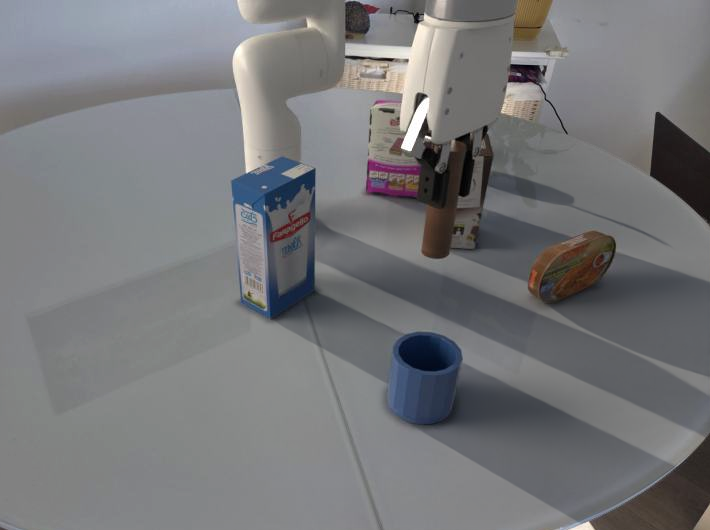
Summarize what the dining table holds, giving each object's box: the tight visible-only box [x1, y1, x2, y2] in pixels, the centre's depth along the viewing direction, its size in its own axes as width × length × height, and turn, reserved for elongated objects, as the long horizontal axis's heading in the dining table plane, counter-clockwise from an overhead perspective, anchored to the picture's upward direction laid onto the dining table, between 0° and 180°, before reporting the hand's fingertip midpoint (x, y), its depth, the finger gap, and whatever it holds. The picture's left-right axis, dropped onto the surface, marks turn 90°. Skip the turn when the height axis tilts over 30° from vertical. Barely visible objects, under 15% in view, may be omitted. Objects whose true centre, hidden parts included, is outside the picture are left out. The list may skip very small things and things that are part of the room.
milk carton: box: [230, 157, 317, 320], centre depth 91 cm, size 10×6×20 cm, turn 134°
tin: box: [527, 230, 617, 304], centre depth 92 cm, size 15×3×8 cm, turn 118°
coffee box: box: [450, 133, 495, 250], centre depth 104 cm, size 9×6×16 cm
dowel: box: [420, 140, 467, 260], centre depth 66 cm, size 3×3×12 cm
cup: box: [386, 331, 464, 425], centre depth 76 cm, size 8×8×8 cm
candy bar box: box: [365, 99, 433, 200], centre depth 117 cm, size 11×5×16 cm, turn 68°
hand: (442, 196), depth 66 cm, fingers closed on dowel, 3 cm apart
